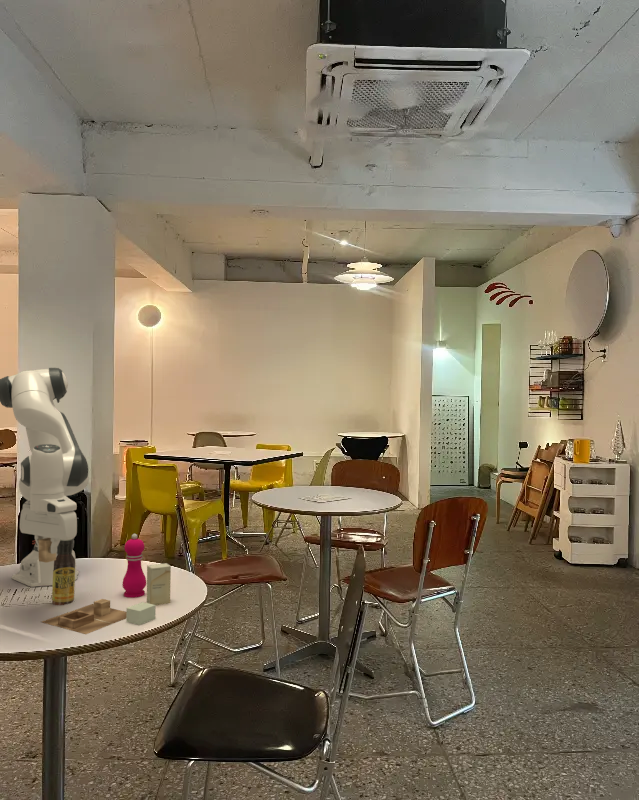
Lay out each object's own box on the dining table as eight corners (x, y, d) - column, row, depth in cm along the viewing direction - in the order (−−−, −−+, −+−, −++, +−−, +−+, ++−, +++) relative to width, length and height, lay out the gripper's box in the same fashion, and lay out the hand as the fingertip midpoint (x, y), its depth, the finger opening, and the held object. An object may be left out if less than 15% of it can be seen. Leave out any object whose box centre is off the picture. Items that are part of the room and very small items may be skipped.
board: (40, 625, 181) (40, 609, 181) (92, 607, 197) (92, 592, 197) (85, 638, 172) (85, 620, 172) (136, 617, 188) (136, 601, 188)
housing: (126, 625, 182) (126, 608, 182) (142, 618, 187) (142, 602, 187) (139, 628, 179) (139, 611, 179) (155, 622, 185) (155, 604, 185)
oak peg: (38, 561, 185) (38, 539, 185) (48, 558, 188) (48, 537, 188) (46, 562, 183) (46, 541, 183) (56, 560, 186) (55, 538, 186)
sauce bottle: (53, 609, 195) (53, 542, 194) (50, 603, 200) (50, 538, 200) (76, 606, 198) (76, 540, 197) (73, 600, 203) (73, 536, 203)
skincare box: (150, 609, 195) (150, 568, 195) (146, 605, 199) (146, 565, 199) (171, 606, 198) (171, 565, 198) (166, 602, 202) (166, 562, 202)
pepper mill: (139, 602, 202) (139, 536, 202) (118, 600, 203) (118, 535, 203) (150, 594, 209) (150, 531, 209) (129, 593, 211) (129, 530, 210)
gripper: (13, 501, 188) (13, 549, 188) (61, 507, 177) (62, 559, 178) (33, 498, 193) (33, 545, 193) (81, 504, 183) (81, 554, 183)
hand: (47, 552), depth 185 cm, fingers closed on oak peg, 3 cm apart
